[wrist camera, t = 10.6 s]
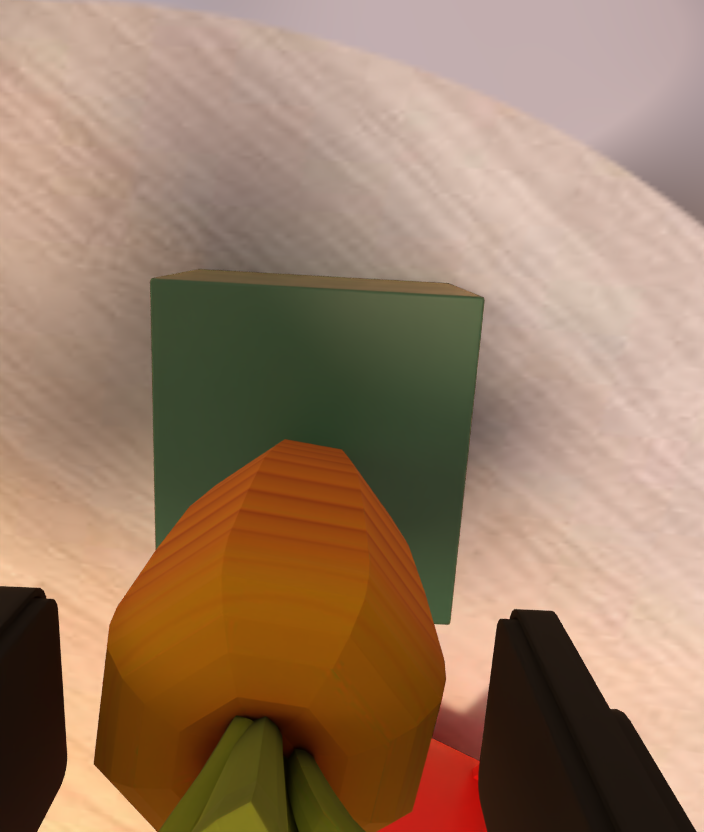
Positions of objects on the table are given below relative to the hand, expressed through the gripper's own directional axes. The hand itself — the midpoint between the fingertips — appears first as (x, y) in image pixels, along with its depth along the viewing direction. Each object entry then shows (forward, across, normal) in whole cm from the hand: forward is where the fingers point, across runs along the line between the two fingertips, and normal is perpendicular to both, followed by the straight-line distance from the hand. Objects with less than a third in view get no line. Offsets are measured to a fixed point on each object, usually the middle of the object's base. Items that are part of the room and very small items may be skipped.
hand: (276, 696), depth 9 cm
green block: (+16, 0, 0) cm, 16 cm away
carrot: (+10, 0, 0) cm, 10 cm away
